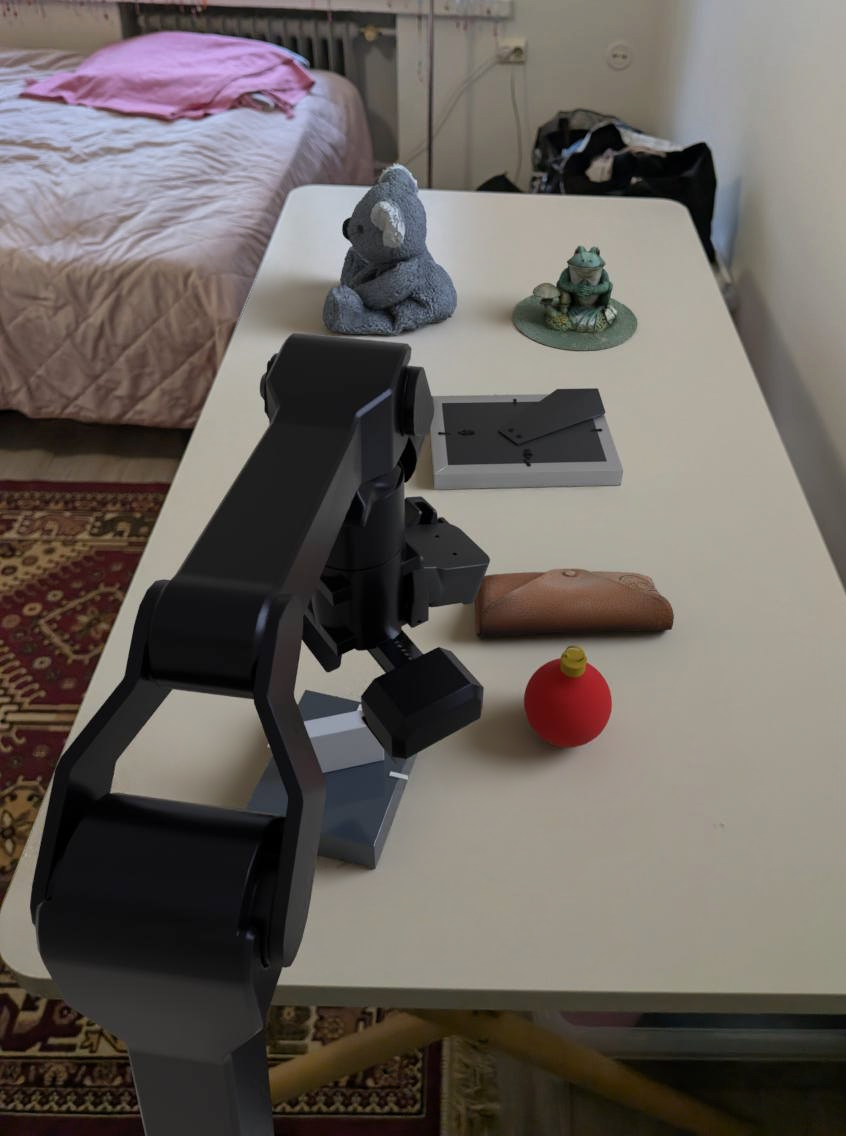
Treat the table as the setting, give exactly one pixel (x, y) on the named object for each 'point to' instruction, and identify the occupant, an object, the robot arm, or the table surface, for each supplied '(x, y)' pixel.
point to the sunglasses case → (569, 603)
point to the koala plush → (389, 265)
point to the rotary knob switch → (343, 794)
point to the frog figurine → (576, 308)
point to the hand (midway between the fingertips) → (365, 712)
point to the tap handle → (343, 741)
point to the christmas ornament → (568, 700)
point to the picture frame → (523, 441)
